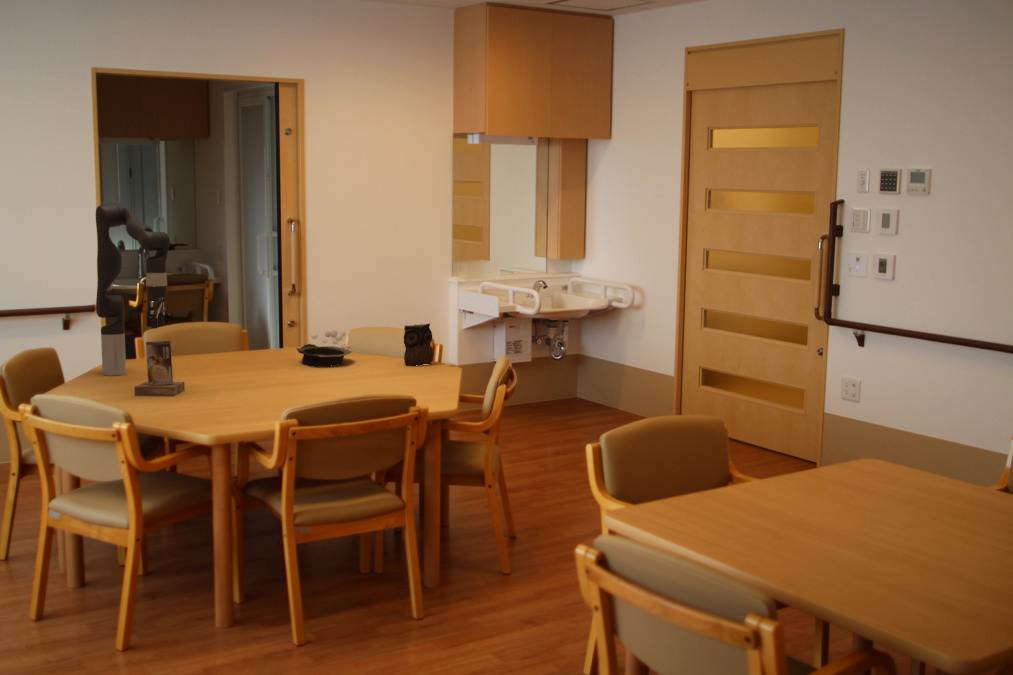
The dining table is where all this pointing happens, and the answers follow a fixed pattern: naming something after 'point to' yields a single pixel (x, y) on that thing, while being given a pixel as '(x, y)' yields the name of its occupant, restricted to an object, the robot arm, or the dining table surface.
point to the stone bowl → (322, 355)
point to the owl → (418, 345)
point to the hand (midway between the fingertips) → (157, 326)
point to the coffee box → (159, 363)
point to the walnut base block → (159, 389)
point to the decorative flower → (334, 335)
